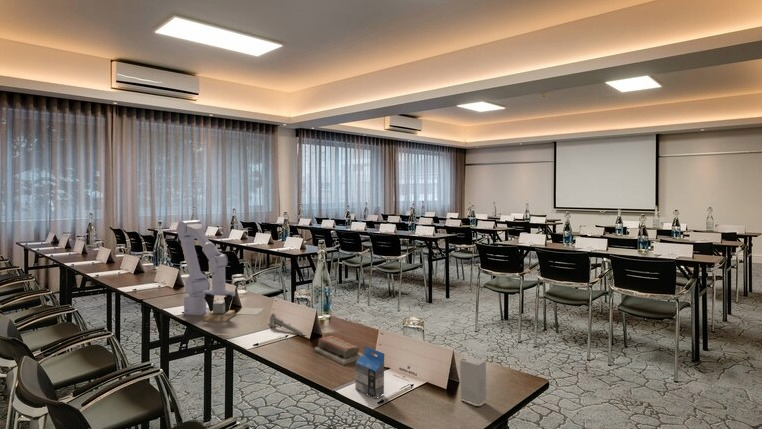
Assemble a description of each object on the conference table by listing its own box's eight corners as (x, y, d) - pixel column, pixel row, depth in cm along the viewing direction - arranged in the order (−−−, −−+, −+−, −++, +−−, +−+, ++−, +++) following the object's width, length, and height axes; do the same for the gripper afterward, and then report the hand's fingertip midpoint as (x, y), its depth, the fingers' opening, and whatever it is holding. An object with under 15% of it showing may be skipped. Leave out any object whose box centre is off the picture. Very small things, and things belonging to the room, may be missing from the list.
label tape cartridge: (354, 389, 131) (354, 348, 130) (364, 385, 134) (364, 345, 133) (375, 399, 125) (375, 357, 124) (384, 395, 128) (385, 353, 127)
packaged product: (313, 338, 162) (335, 332, 168) (313, 351, 162) (335, 345, 169) (343, 352, 148) (365, 345, 155) (343, 366, 149) (365, 358, 155)
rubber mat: (235, 315, 205) (235, 313, 205) (244, 309, 215) (244, 307, 215) (256, 315, 204) (256, 314, 204) (264, 309, 214) (264, 308, 214)
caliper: (269, 327, 188) (269, 313, 188) (271, 327, 189) (271, 312, 189) (304, 337, 177) (304, 321, 176) (306, 336, 178) (306, 321, 177)
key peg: (213, 318, 198) (212, 303, 198) (217, 316, 202) (217, 300, 202) (221, 318, 198) (221, 303, 197) (225, 316, 202) (225, 301, 201)
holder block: (203, 321, 195) (203, 315, 195) (214, 314, 205) (214, 309, 205) (225, 322, 194) (224, 316, 194) (235, 315, 204) (234, 310, 204)
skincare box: (486, 403, 123) (487, 360, 122) (478, 409, 120) (479, 365, 119) (467, 395, 127) (468, 354, 126) (459, 401, 124) (459, 359, 123)
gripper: (198, 283, 196) (199, 313, 196) (230, 283, 194) (230, 314, 195) (206, 279, 203) (207, 308, 203) (237, 280, 201) (237, 309, 202)
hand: (219, 311), depth 200 cm, fingers open, 7 cm apart
